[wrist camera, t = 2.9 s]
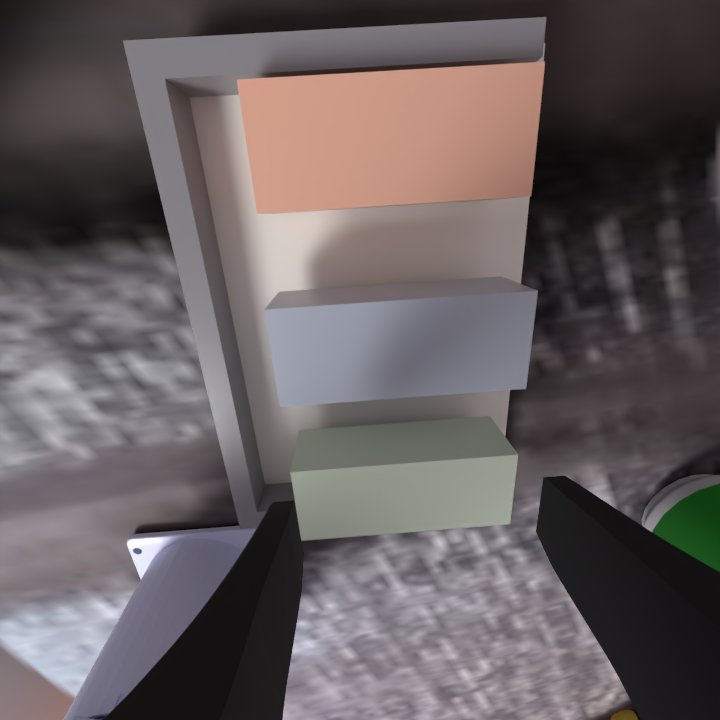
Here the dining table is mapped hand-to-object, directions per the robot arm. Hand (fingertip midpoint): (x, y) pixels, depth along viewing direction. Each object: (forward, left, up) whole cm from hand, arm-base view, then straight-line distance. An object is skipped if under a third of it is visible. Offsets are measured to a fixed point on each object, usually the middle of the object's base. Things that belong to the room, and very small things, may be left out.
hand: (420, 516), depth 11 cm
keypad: (+4, +1, -9) cm, 10 cm away
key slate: (+4, 0, -7) cm, 8 cm away
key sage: (-3, 0, -7) cm, 7 cm away
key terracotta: (+10, 0, -8) cm, 13 cm away
